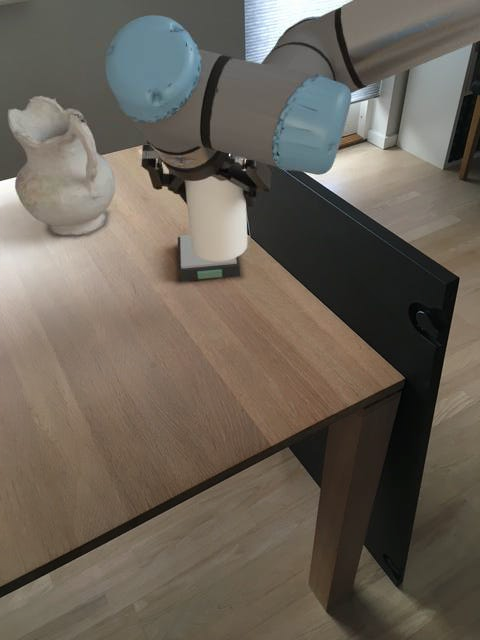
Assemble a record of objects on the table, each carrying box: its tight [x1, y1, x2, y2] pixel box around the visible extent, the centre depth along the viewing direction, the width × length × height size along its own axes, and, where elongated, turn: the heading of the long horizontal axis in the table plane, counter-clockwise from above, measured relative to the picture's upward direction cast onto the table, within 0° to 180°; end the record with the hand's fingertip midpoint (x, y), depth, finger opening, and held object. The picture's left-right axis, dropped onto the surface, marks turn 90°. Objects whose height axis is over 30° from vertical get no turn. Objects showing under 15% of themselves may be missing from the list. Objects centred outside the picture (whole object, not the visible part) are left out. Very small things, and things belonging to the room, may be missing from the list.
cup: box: [184, 176, 248, 261], centre depth 75 cm, size 8×8×16 cm
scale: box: [177, 234, 241, 282], centre depth 101 cm, size 11×12×3 cm
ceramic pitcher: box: [7, 95, 116, 236], centre depth 106 cm, size 22×20×25 cm
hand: (220, 196), depth 78 cm, fingers closed on cup, 8 cm apart
